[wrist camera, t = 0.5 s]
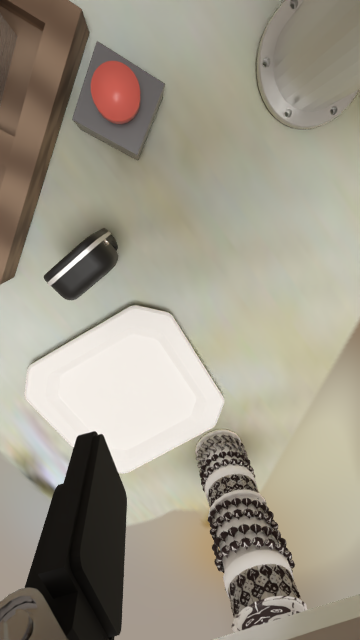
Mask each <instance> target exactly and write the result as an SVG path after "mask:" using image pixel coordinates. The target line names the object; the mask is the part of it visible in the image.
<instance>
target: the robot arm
mask: <svg viewBox="0 0 360 640" xmlns="http://www.w3.org/2000/svg"><path fill="white" fill-rule="evenodd" d="M291 7H292V8H291ZM263 64H265V67H264V66H263ZM257 80H258V86H259V90H260V93H261V96H262V99H263V101H264V103H265V105H266V106H267V108H268V110H269V111H270V112H271V113H272V115H273V116H274V117H275V118H276V119H278V120H279V121H280V122H282V123H283V124H285V125H287V126H289V127H292V128H297V129H312V128H315V127H319V126H321V125H323V124H326V123H328V122H330V121H331V120H333V119H335V118H336V117H337V116H339V115H340V114H341V113H342V112H343V111H344V110H345V109H346V108H347V107H348V106H349V104H350V103H351V102H352V100H353V99H354V98H355V96H356V94H357V92H358V90H359V89H360V0H285V1H284V2H283V3H282V4H281V5H280V7H279V8H278V9H277V10H276V12H275V13H274V14H273V16H272V18H271V19H270V21H269V22H268V24H267V26H266V29H265V31H264V33H263V35H262V38H261V42H260V45H259V49H258V56H257ZM330 111H331V113H330ZM284 113H286V115H287V116H285V114H284ZM126 510H127V497H126V492H125V489H124V486H123V484H122V481H121V479H120V476H119V474H118V471H117V468H116V466H115V463H114V461H113V458H112V456H111V453H110V451H109V448H108V445H107V443H106V440H105V438H104V436H103V434H99V435H98V434H97V432H96V431H93V432H89V433H85V434H82V435H78V436H77V438H76V442H75V445H74V449H73V452H72V456H71V459H70V463H69V466H68V470H67V473H66V477H65V481H64V484H60V485H58V486H57V487H56V489H55V492H54V494H53V498H52V501H51V504H50V508H49V511H48V514H47V517H46V520H45V524H44V527H43V530H42V533H41V537H40V540H39V543H38V546H37V550H36V553H35V556H34V559H33V562H32V566H31V569H30V572H29V575H28V579H27V582H26V585H25V588H23V589H19V590H17V591H15V592H13V593H12V594H10V595H8V596H7V597H6V598H4V599H3V600H2V601H1V602H0V640H114V636H117V635H119V634H120V631H121V624H122V623H121V622H122V601H123V600H122V599H123V577H124V556H125V533H126ZM213 640H360V594H359V595H356V596H352V597H349V598H346V599H342V600H339V601H336V602H332V603H329V604H326V605H323V606H319V607H316V608H313V609H310V610H306V611H303V612H300V613H297V614H293V615H290V616H287V617H284V618H281V619H277V620H274V621H271V622H268V623H264V624H261V625H258V626H255V627H252V628H248V629H245V630H242V631H239V632H235V633H232V634H229V635H226V636H223V637H219V638H216V639H213Z"/></svg>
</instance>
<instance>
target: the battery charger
mask: <svg viewBox="0 0 360 640" xmlns="http://www.w3.org/2000/svg"><path fill="white" fill-rule="evenodd" d="M117 248H118V246H117V243H116V241H115V239H114V238H113V237H112V235H111V233H110V232H108V231H107V230H106V229H102V230H100V231H98V232H96V233H94V234H92V235H90V236H89V237H87V238H86V239H85V240H84V241H83V242H81V243H80V244H79V245H78V246H77V247H76V248H74V249H73V250H72V251H71V252H70V253H69V254H68V255H67V256H65V257H64V258H63V259H62V260H61V261H60V262H59V263H57V264H56V265H55V266H54V267H53V268H52V269H51V270H50V271H48V272H47V273H46V274H45V275H44V279H45V281H46V282H47V284H48V285H49V286H52V287H53V288H54V289H55V290H56V291H57V292H58V293H59V294H60V295H61V296H62V297H63V298H65V299H67V300H75V299H77V298H78V297H80V296H81V295H82V294H83V293H85V292H86V291H87V290H88V289H89V288H90V287H92V286H93V285H94V284H95V283H96V282H98V281H99V280H100V279H101V278H102V277H103V276H105V275H106V274H107V273H108V272H109V271H110V270H111V269H112V268H113V267H114V266H115V265H116V263H117V260H118V254H117Z"/></svg>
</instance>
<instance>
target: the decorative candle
mask: <svg viewBox="0 0 360 640" xmlns="http://www.w3.org/2000/svg"><path fill="white" fill-rule="evenodd" d="M195 453H196V456H197V457H196V460H199V461H200V462H199V463H198V465H197V466H198V467H200V468H201V470H199V473H200V477H201V478H202V479H201V485H202V486H203V491H204V492H205V493H206V497H207V500H208V503H209V506H210V511H209V516H208V522H209V523H210V527H211V528H212V529H211V530H210V534H211V535H212V538H213V540H214V544H213V546H212V549H213V551H214V554H215V556H216V559H215V564H216V566H217V568H218V570H219V571H221V572H223V573H224V577H223V579H224V583H225V590H226V592H227V595H228V597H229V599H230V601H231V609H232V612H233V616H234V621H233V625H232V629H233V631H234V633H235V632H239V631H242V630H245V629H248V628H252V627H255V626H258V625H261V624H264V623H268V622H271V621H274V620H277V619H281V618H284V617H287V616H290V615H293V614H297V613H300V612H303V611H306V610H307V607H306V604H305V603H304V602H302V600H301V597H300V595H299V592H298V590H297V587H296V585H295V582H294V580H293V574H292V569H291V568H294V566H295V564H294V562H293V560H292V554H291V552H289V551H288V549H287V548H286V540H285V539H283V538H281V534H280V532H279V530H277V529H278V524H277V523H276V522H275V521H274V520H273V513H272V512H271V511H269V508H268V507H267V504H266V500H265V498H263V497H262V496H261V495H260V494H259V491H258V489H257V484H256V481H255V475H254V474H253V473H254V470H253V468H252V467H251V466H250V460H248V457H247V452H246V450H244V445H243V444H242V443H241V440H240V437H239V436H238V435H237V434H236V433H235V432H232V431H229V430H221V429H218V430H214V431H211V432H208V433H207V434H205V435H204V436H203V437H201V438H200V440H199V441H198V443H197V444H196V450H195ZM267 514H268V515H267ZM272 528H273V529H274V530H273V529H272ZM279 542H280V543H279ZM218 547H219V548H220V551H219V549H218Z"/></svg>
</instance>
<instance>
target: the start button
mask: <svg viewBox="0 0 360 640" xmlns="http://www.w3.org/2000/svg"><path fill="white" fill-rule="evenodd" d="M91 94H92V98H93V101H94V103H95V105H96V107H97V109H98V111H99V112H100V114H101V115H102V116H103V117H104V118H105V119H106V120H108V121H110V122H112V123H115V124H124V123H127V122H129V121H131V120H132V119H133V118H134V117H135V116H136V114H137V112H138V110H139V107H140V87H139V83H138V80H137V78H136V76H135V74H134V73H133V71H132V70H131V69H130V68H129V67H128V66H126V65H125V64H123V63H121V62H118V61H107V62H105V63H102V64H101V65H100V66H99V67H98V68H97V69H96V70H95V72H94V74H93V76H92V80H91Z"/></svg>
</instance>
